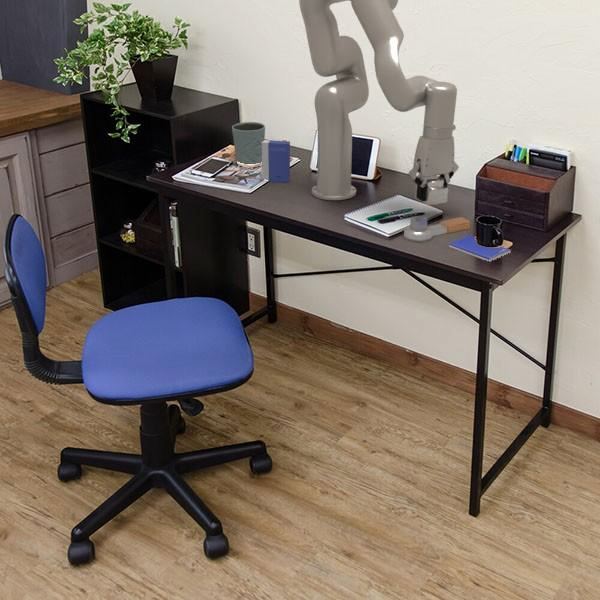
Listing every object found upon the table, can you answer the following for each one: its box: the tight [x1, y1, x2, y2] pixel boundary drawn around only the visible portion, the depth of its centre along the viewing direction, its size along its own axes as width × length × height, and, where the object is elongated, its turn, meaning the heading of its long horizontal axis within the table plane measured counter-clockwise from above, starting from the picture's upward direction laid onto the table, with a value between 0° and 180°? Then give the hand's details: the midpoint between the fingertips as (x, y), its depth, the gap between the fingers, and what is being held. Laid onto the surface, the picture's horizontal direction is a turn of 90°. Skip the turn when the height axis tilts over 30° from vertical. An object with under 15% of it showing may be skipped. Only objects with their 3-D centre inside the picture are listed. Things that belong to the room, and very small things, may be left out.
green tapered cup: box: [231, 121, 266, 164], centre depth 284 cm, size 10×10×12 cm
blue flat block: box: [449, 235, 512, 263], centre depth 225 cm, size 2×8×12 cm
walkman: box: [261, 139, 291, 183], centre depth 270 cm, size 8×3×12 cm, turn 79°
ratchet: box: [403, 215, 471, 243], centre depth 234 cm, size 18×7×5 cm, turn 119°
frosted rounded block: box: [414, 175, 449, 207], centre depth 243 cm, size 6×6×6 cm
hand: (431, 197), depth 244 cm, fingers closed on frosted rounded block, 6 cm apart
